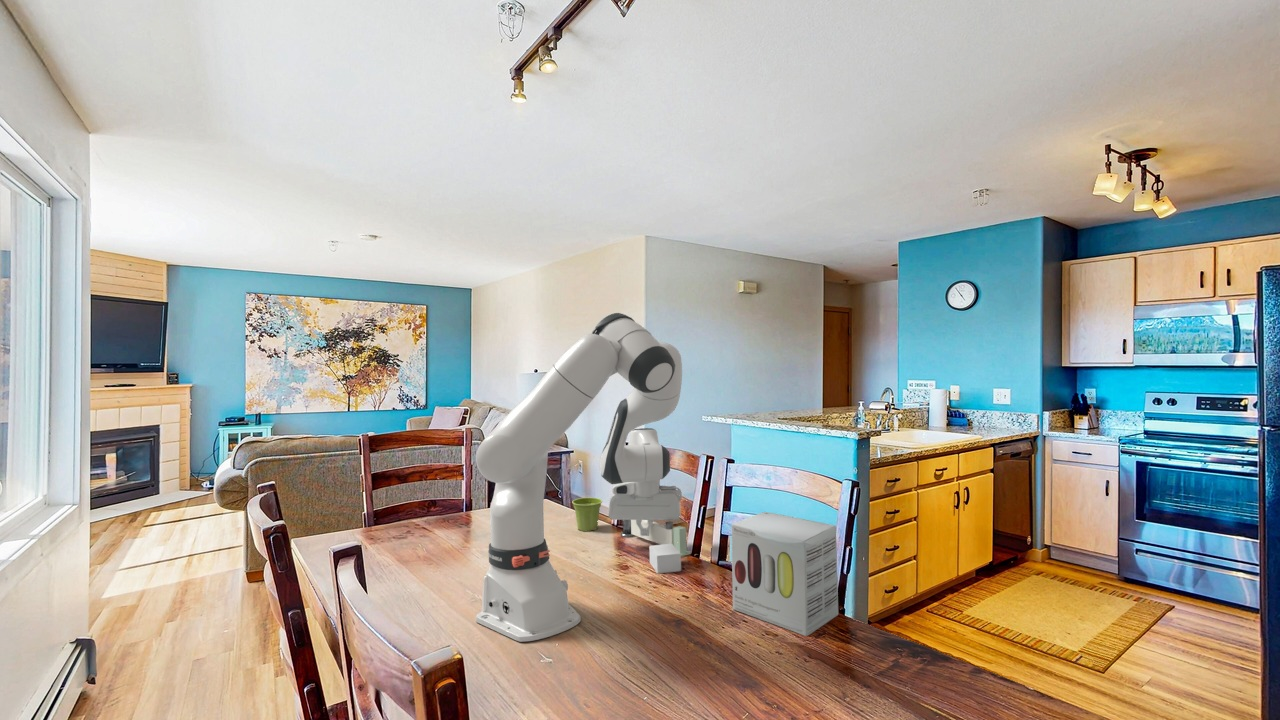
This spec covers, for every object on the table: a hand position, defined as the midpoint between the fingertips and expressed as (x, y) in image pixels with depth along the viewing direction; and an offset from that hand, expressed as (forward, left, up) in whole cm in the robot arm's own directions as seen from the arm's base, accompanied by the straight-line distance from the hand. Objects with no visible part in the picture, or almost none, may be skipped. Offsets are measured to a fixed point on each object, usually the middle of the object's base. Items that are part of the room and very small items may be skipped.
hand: (645, 535), depth 163 cm
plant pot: (+26, +2, -3) cm, 26 cm away
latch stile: (-11, -3, -3) cm, 12 cm away
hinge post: (+12, -3, -3) cm, 13 cm away
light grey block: (-16, +6, -3) cm, 17 cm away
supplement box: (-52, +6, -4) cm, 53 cm away
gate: (0, -3, -2) cm, 3 cm away
